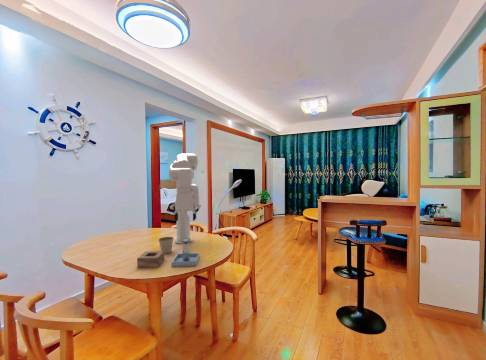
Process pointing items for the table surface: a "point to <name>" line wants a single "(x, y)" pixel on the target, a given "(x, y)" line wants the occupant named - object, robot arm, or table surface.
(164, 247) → the flower pot
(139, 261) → the socket block
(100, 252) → the table surface
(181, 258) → the tray
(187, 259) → the pin
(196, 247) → the table surface
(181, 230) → the robot arm
